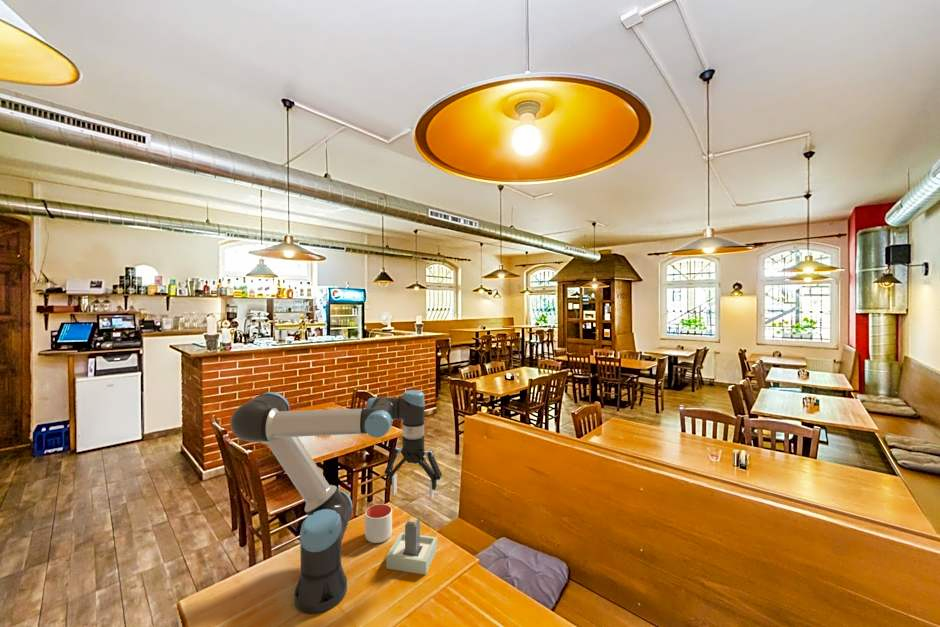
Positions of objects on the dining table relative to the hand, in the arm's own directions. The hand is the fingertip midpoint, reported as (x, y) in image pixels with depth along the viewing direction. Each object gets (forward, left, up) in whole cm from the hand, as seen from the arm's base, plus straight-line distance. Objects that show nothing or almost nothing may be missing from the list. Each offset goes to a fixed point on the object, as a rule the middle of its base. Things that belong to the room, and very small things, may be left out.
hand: (412, 495), depth 132 cm
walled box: (0, 0, -22) cm, 23 cm away
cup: (-17, +9, -23) cm, 30 cm away
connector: (0, 0, -22) cm, 23 cm away
